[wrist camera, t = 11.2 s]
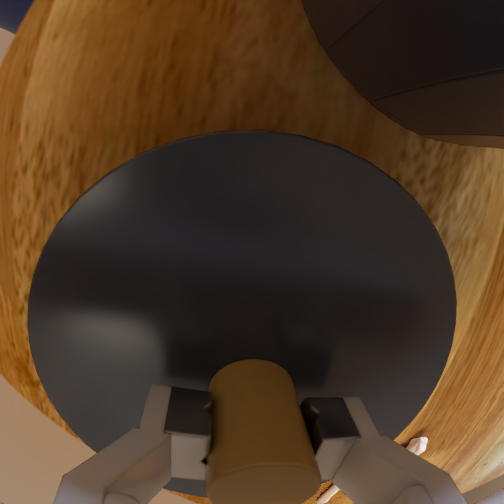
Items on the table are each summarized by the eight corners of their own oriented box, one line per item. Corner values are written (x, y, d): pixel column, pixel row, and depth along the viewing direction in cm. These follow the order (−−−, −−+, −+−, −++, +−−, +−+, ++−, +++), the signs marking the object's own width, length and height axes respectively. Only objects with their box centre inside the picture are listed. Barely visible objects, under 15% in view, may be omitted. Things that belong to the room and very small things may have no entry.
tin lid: (37, 416, 10) (-3, 496, 5) (118, 60, 7) (27, -13, 2) (315, 491, 13) (335, 565, 8) (491, 255, 9) (583, 305, 5)
